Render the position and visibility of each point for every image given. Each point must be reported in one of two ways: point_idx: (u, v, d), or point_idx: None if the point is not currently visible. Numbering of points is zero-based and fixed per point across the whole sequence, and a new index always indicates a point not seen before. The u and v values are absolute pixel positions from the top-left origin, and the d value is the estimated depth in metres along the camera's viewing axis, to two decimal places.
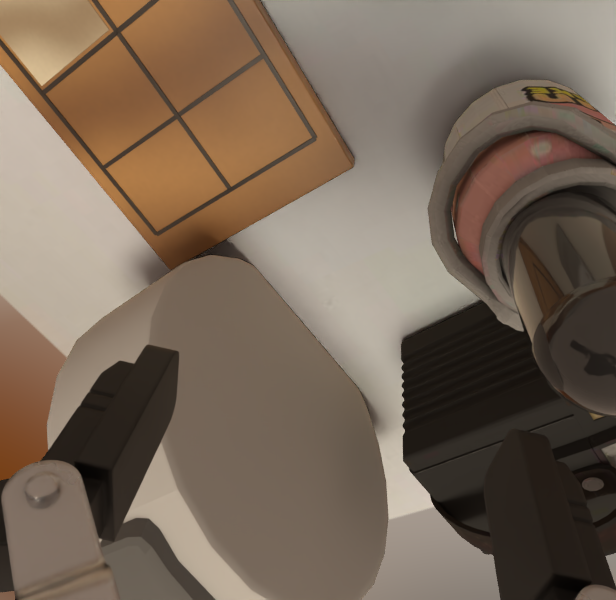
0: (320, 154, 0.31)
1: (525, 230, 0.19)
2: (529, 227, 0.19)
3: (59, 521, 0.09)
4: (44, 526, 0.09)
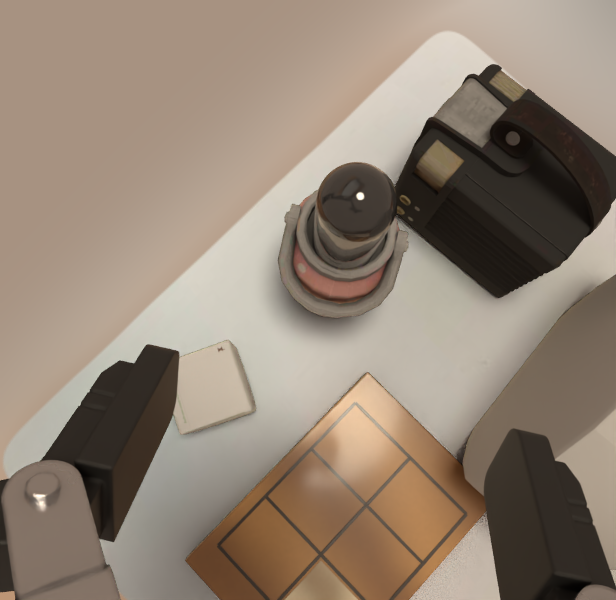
0: (365, 396, 0.45)
1: (335, 261, 0.34)
2: (332, 260, 0.34)
3: (59, 521, 0.09)
4: (44, 526, 0.09)
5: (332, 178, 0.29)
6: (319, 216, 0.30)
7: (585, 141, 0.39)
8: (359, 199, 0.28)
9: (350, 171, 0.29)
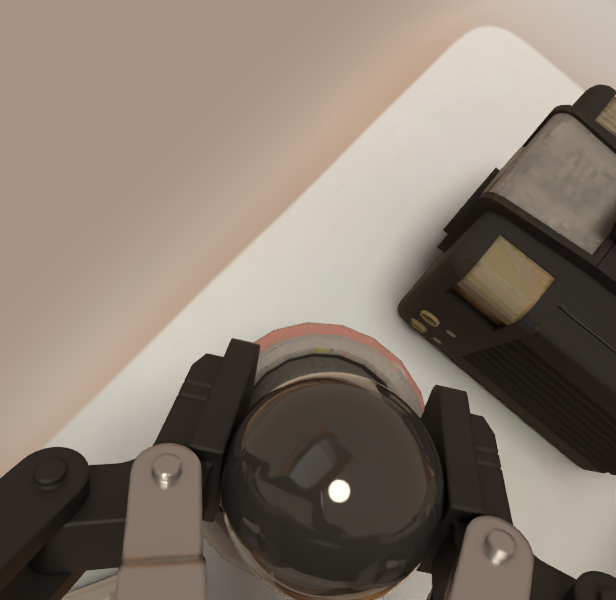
0: None
1: None
2: None
3: (187, 499, 0.09)
4: (160, 503, 0.09)
5: (257, 445, 0.10)
6: (228, 528, 0.11)
7: None
8: (333, 536, 0.09)
9: (308, 431, 0.10)
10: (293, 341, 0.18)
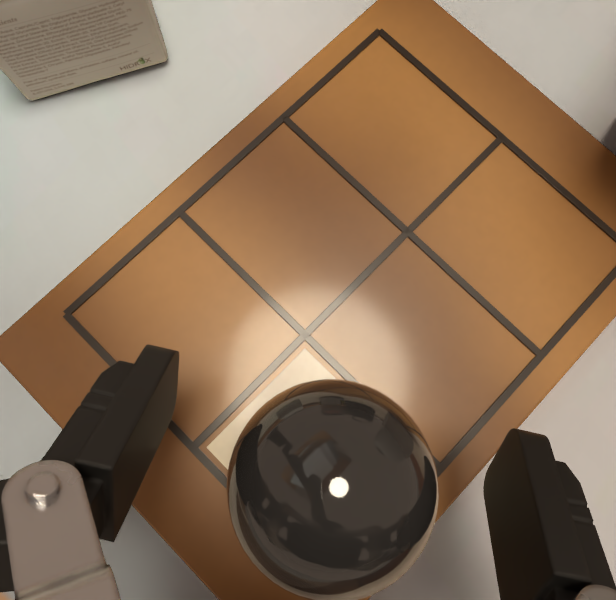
0: (400, 20, 0.21)
1: None
2: None
3: (59, 521, 0.09)
4: (44, 526, 0.09)
5: (261, 449, 0.10)
6: (234, 528, 0.11)
7: None
8: (333, 535, 0.10)
9: (310, 436, 0.10)
10: None
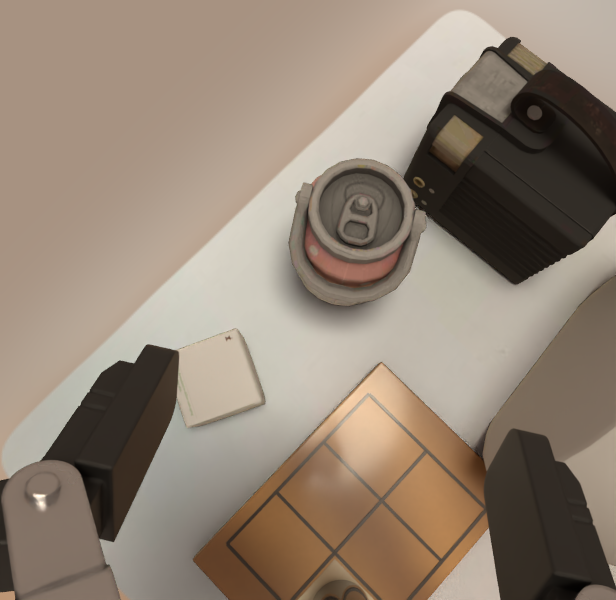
0: (379, 387, 0.43)
1: None
2: None
3: (59, 521, 0.09)
4: (44, 526, 0.09)
5: None
6: None
7: None
8: None
9: None
10: (347, 161, 0.35)
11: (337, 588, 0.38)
